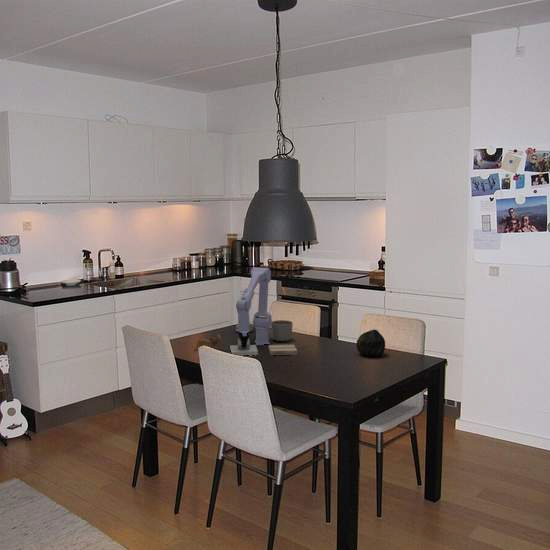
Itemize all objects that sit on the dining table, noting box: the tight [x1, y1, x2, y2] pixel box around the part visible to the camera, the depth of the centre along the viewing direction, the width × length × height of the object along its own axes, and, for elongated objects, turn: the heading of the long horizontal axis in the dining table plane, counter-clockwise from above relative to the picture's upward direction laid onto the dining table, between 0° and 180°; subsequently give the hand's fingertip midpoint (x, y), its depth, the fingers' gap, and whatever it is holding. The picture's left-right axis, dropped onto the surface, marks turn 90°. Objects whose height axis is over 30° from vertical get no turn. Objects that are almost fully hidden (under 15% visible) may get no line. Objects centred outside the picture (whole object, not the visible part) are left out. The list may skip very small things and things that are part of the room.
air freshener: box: [235, 322, 254, 333], centre depth 375 cm, size 11×8×10 cm
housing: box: [237, 337, 251, 350], centre depth 325 cm, size 4×6×5 cm
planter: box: [270, 319, 293, 342], centre depth 353 cm, size 12×12×11 cm
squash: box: [356, 329, 386, 357], centre depth 321 cm, size 14×15×15 cm
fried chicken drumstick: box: [194, 333, 222, 351], centre depth 330 cm, size 15×5×9 cm, turn 97°
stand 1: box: [229, 344, 259, 357], centre depth 326 cm, size 14×14×2 cm
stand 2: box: [267, 343, 298, 357], centre depth 328 cm, size 14×14×2 cm
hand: (243, 346), depth 326 cm, fingers closed on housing, 4 cm apart
